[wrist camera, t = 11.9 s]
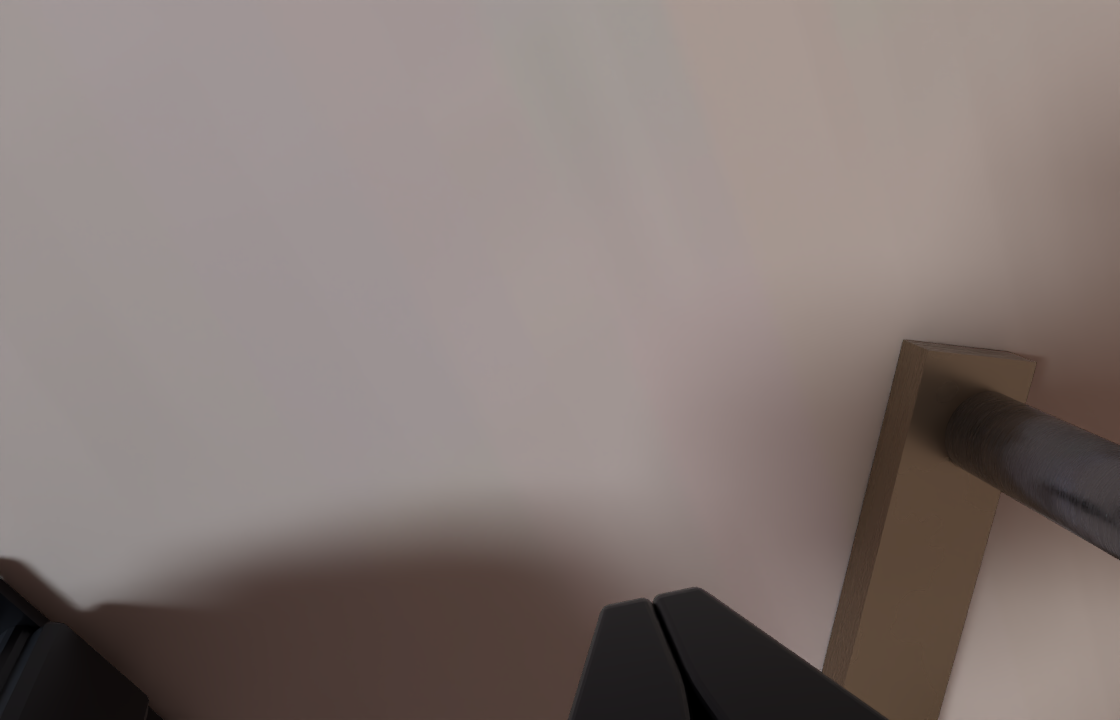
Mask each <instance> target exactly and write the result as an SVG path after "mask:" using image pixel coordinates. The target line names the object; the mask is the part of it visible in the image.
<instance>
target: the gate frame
mask: <svg viewBox="0 0 1120 720" xmlns="http://www.w3.org/2000/svg"><path fill="white" fill-rule="evenodd" d="M1036 364H1037V362H1034V361H1032V360H1029V359H1026V358H1024V357H1021V356H1018V355H1016V354H1013V353H1010V352H1006V351H997V350H989V349H980V348H971V347H962V346H953V345H945V344H936V343H927V342H918V341H910V340H903V343H902V347H901V352H900V356H899V360H898V364H897V368H896V372H895V376H894V380H893V384H892V388H891V392H890V396H889V400H888V405H887V409H886V413H885V417H884V421H883V425H882V429H881V433H880V437H879V441H878V445H877V449H876V453H875V458H874V462H873V466H872V470H871V474H870V478H869V482H868V486H867V490H866V494H865V498H864V502H863V506H862V511H861V515H860V519H859V523H858V527H857V531H856V535H855V539H854V543H853V547H852V551H851V555H850V559H849V564H848V568H847V572H846V576H845V580H844V584H843V588H842V592H841V596H840V600H839V604H838V608H837V612H836V617H835V621H834V625H833V629H832V633H831V637H830V641H829V645H828V649H827V653H826V657H825V661H824V665H823V670H822V673H824V674H825V675H826V676H828V677H829V678H831V679H832V680H833V681H835V682H836V683H838V684H839V685H841V686H842V687H843V688H845V689H846V690H848V691H849V692H851V693H852V694H853V695H855V696H856V697H858V698H859V699H861V700H862V701H863V702H865V703H866V704H868V705H869V706H871V707H872V708H873V709H875V710H876V711H878V712H879V713H880V714H882V715H883V716H885V717H886V718H888V719H889V720H937V719H938V716H939V712H940V709H941V705H942V701H943V698H944V694H945V691H946V687H947V684H948V680H949V676H950V673H951V669H952V666H953V662H954V658H955V655H956V651H957V648H958V644H959V640H960V637H961V633H962V630H963V626H964V622H965V619H966V615H967V612H968V608H969V605H970V601H971V597H972V594H973V590H974V587H975V583H976V579H977V576H978V572H979V569H980V565H981V561H982V558H983V554H984V551H985V547H986V544H987V540H988V536H989V533H990V529H991V526H992V522H993V518H994V515H995V511H996V508H997V504H998V500H999V497H1000V493H1001V492H1003V493H1005V494H1006V495H1008V496H1010V497H1011V498H1013V499H1015V500H1017V501H1018V502H1020V503H1022V504H1024V505H1025V506H1027V507H1029V508H1030V509H1032V510H1034V511H1036V512H1037V513H1039V514H1041V515H1043V516H1044V517H1046V518H1048V519H1049V520H1051V521H1053V522H1055V523H1056V524H1058V525H1060V526H1062V527H1063V528H1065V529H1067V530H1068V531H1070V532H1072V533H1074V534H1075V535H1077V536H1079V537H1081V538H1082V539H1084V540H1086V541H1088V542H1089V543H1091V544H1093V545H1094V546H1096V547H1098V548H1100V549H1101V550H1103V551H1105V552H1107V553H1108V554H1110V555H1112V556H1113V557H1115V558H1117V559H1119V560H1120V445H1118V444H1116V443H1113V442H1111V441H1109V440H1106V439H1104V438H1102V437H1100V436H1097V435H1095V434H1093V433H1091V432H1088V431H1086V430H1084V429H1081V428H1079V427H1077V426H1075V425H1072V424H1070V423H1068V422H1065V421H1063V420H1061V419H1059V418H1056V417H1054V416H1052V415H1049V414H1047V413H1045V412H1043V411H1040V410H1038V409H1036V408H1033V407H1031V406H1029V405H1027V404H1025V403H1026V400H1027V396H1028V393H1029V389H1030V386H1031V382H1032V378H1033V375H1034V371H1035V368H1036Z"/></svg>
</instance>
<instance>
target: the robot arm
mask: <svg viewBox="0 0 1120 720" xmlns="http://www.w3.org/2000/svg"><path fill="white" fill-rule="evenodd" d="M148 702H149V699H148V697H147V696H146V694H144V693H143V692H142V691H141V690H140V689H139V688H138V687H136V686H135V685H134V684H133V683H132V682H131V681H130V680H128V679H127V678H126V677H125V676H124V675H123V674H121V673H120V672H119V671H118V670H117V669H116V668H115V667H113V666H112V665H111V664H110V663H109V662H108V661H107V660H105V659H104V658H103V657H102V656H101V655H100V654H99V653H97V652H96V651H95V650H94V649H93V648H92V647H91V646H89V645H88V644H87V643H86V642H85V641H84V640H83V639H81V638H80V637H79V636H78V635H77V634H76V633H75V632H73V631H72V630H71V629H70V628H69V627H68V626H67V625H65V624H63V623H56V622H50V621H49V620H48V619H47V618H46V617H45V616H44V615H42V614H41V613H40V612H39V611H38V610H37V609H35V608H34V607H33V606H32V605H31V604H30V603H29V602H27V601H26V600H25V599H24V598H23V597H22V596H21V595H19V594H18V593H17V592H16V591H15V590H14V589H12V588H11V587H10V586H9V585H8V584H7V583H6V582H4V581H3V580H2V579H1V578H0V720H163V719H162V718H161V717H160V716H159V715H158V714H156V713H155V712H154V711H153V710H152V709H151V708H149V707H148ZM568 720H889V719H888V718H886V717H885V716H883V715H882V714H880V713H879V712H878V711H876V710H875V709H873V708H872V707H871V706H869V705H868V704H866V703H865V702H863V701H862V700H861V699H859V698H858V697H856V696H855V695H853V694H852V693H851V692H849V691H848V690H846V689H845V688H843V687H842V686H841V685H839V684H838V683H836V682H835V681H833V680H832V679H831V678H829V677H828V676H826V675H825V674H824V673H822V672H821V671H819V670H818V669H816V668H815V667H814V666H812V665H811V664H809V663H808V662H806V661H805V660H804V659H802V658H801V657H799V656H798V655H796V654H795V653H794V652H792V651H791V650H789V649H788V648H786V647H785V646H784V645H782V644H781V643H779V642H778V641H777V640H775V639H774V638H772V637H771V636H769V635H768V634H767V633H765V632H764V631H762V630H761V629H759V628H758V627H757V626H755V625H754V624H752V623H751V622H749V621H748V620H747V619H745V618H744V617H742V616H741V615H740V614H738V613H737V612H735V611H734V610H732V609H731V608H730V607H728V606H727V605H725V604H724V603H722V602H721V601H720V600H718V599H717V598H715V597H714V596H712V595H711V594H710V593H708V592H707V591H705V590H704V589H702V588H698V587H691V588H687V589H682V590H677V591H672V592H668V593H663V594H659V595H657V596H656V597H655V598H654V600H653V604H652V602H651V601H650V600H648V599H646V598H639V599H634V600H629V601H624V602H619V603H614V604H609V605H607V606H605V607H604V608H603V609H602V610H601V612H600V615H599V618H598V622H597V625H596V628H595V632H594V635H593V638H592V641H591V645H590V648H589V651H588V655H587V658H586V661H585V665H584V668H583V671H582V675H581V678H580V681H579V684H578V688H577V691H576V694H575V698H574V701H573V704H572V708H571V711H570V714H569V718H568Z"/></svg>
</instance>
